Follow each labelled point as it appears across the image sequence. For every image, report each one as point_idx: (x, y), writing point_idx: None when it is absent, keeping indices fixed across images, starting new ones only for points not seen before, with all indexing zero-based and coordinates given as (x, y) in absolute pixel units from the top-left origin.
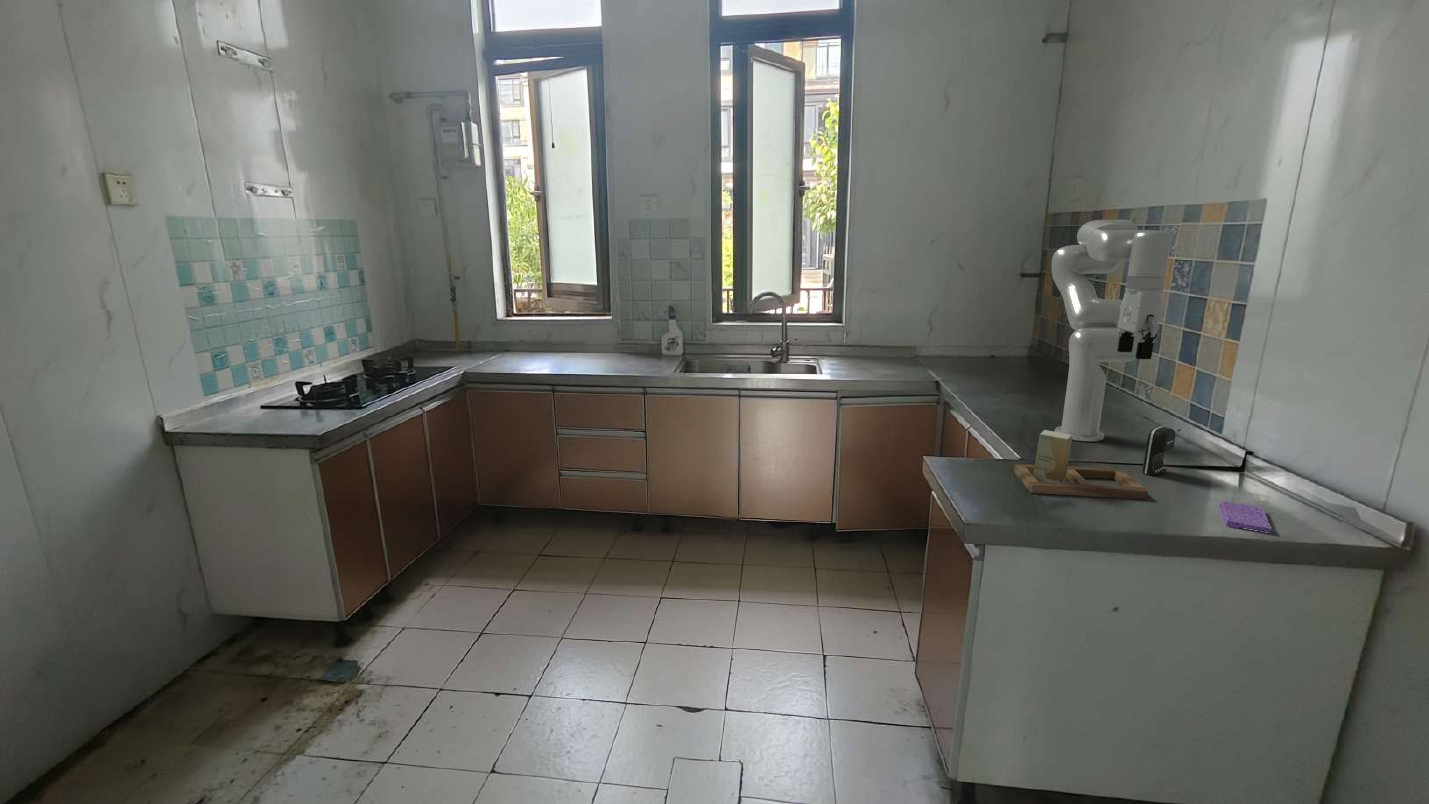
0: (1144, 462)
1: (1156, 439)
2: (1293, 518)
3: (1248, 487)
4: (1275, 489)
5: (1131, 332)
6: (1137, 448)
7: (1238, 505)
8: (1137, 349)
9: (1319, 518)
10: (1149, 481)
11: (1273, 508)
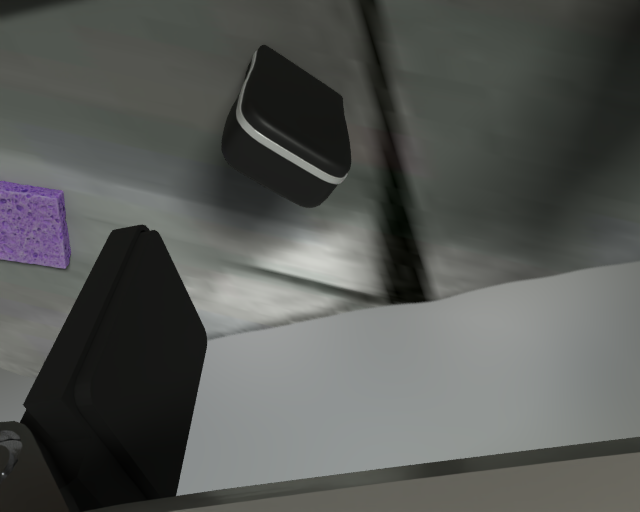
0: (258, 58)
1: (229, 123)
2: (68, 302)
3: (257, 284)
4: (268, 326)
5: (117, 506)
6: (584, 93)
7: (43, 226)
8: (77, 306)
9: None
10: (182, 49)
11: None
